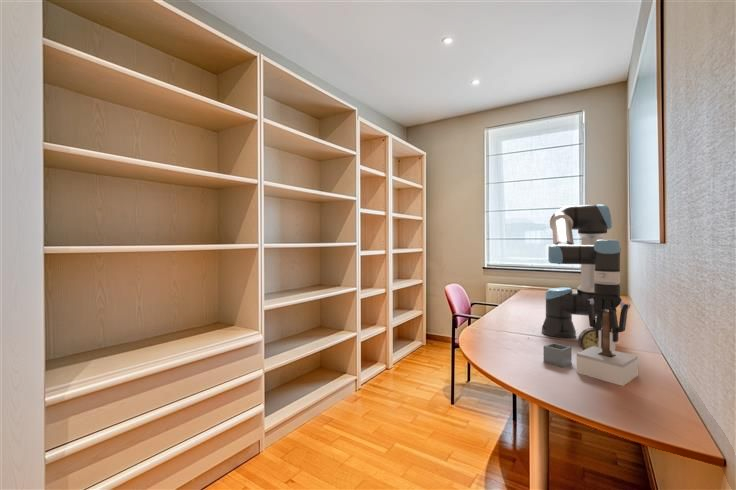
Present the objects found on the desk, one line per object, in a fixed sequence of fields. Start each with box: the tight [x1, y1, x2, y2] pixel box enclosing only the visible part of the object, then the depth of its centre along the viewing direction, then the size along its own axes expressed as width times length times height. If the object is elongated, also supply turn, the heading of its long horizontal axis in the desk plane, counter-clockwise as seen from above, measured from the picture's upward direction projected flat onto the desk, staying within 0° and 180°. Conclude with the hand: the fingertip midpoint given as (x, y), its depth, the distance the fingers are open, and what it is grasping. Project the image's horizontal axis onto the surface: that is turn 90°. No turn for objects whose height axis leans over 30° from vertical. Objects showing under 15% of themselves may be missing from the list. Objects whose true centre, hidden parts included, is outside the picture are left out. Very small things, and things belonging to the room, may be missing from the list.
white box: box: [576, 346, 639, 387], centre depth 121 cm, size 14×14×7 cm
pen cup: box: [543, 342, 573, 368], centre depth 133 cm, size 7×7×6 cm
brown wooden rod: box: [601, 311, 612, 358], centre depth 121 cm, size 3×3×18 cm
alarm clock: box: [577, 317, 599, 351], centre depth 138 cm, size 11×5×16 cm, turn 73°
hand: (606, 349), depth 121 cm, fingers closed on brown wooden rod, 3 cm apart
